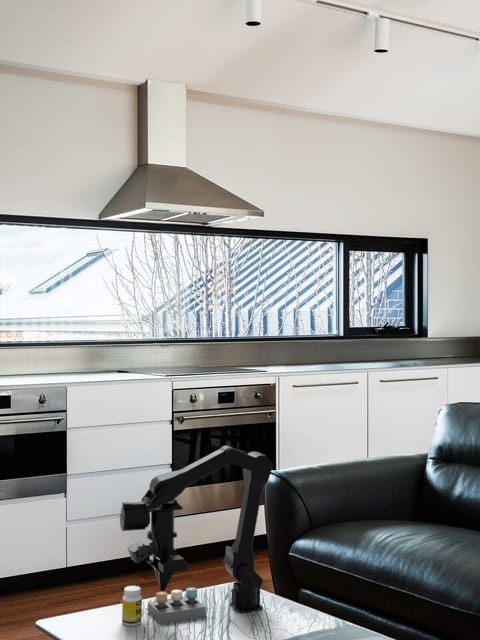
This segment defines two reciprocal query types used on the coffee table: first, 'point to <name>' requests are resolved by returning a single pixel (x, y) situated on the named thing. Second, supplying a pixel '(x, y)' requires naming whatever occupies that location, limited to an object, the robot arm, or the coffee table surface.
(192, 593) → the light blue egg
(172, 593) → the cream white egg
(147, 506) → the robot arm
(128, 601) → the supplement bottle
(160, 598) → the peach orange egg
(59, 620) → the coffee table surface
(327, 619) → the coffee table surface
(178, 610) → the panel
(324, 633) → the coffee table surface
